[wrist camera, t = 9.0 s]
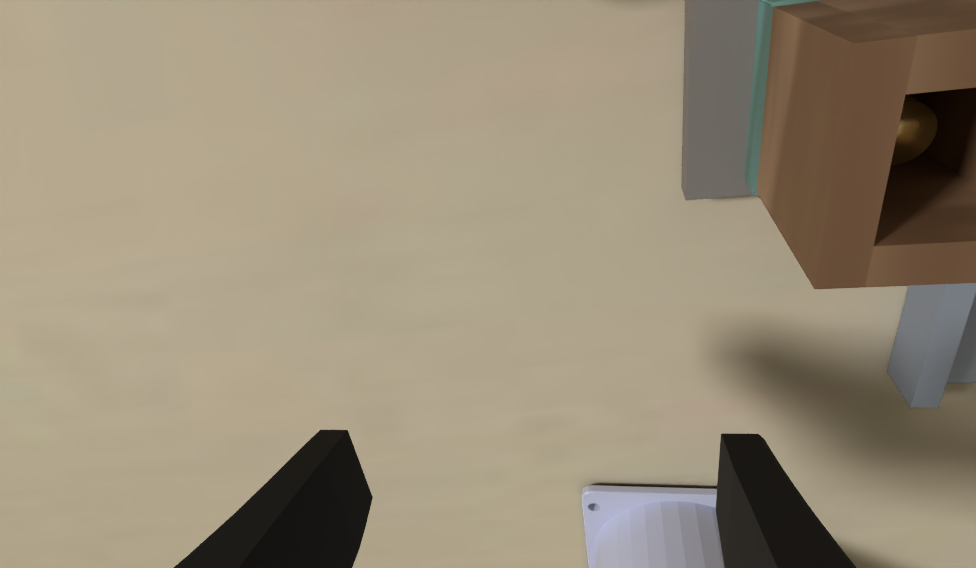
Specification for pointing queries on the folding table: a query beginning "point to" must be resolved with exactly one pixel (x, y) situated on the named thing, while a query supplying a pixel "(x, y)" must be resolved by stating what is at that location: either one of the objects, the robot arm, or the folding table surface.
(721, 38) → the pin board
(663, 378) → the folding table surface
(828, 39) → the walnut sleeve
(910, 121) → the brass pin
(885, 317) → the folding table surface
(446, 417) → the folding table surface
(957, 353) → the tray
